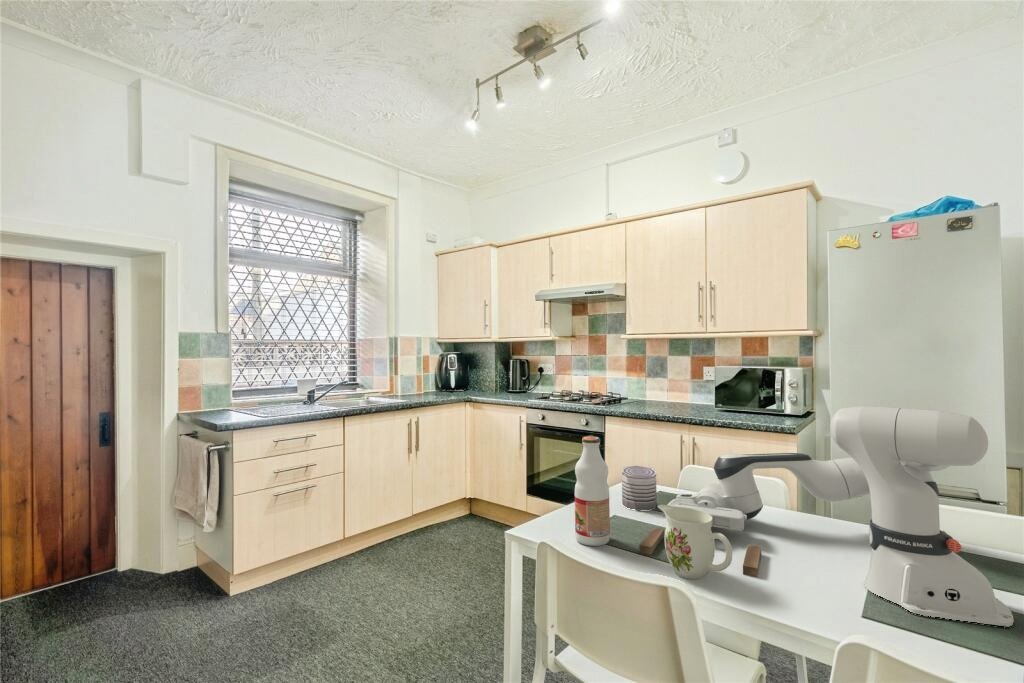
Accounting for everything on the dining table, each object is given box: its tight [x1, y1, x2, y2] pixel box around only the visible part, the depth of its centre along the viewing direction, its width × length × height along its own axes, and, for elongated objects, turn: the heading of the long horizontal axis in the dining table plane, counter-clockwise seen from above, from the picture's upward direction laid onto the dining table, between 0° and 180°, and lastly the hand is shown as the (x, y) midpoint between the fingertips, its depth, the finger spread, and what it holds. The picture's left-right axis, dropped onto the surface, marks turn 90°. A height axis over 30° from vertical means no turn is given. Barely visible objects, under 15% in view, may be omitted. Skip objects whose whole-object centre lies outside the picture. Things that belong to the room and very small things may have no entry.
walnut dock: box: [638, 527, 762, 578], centre depth 121 cm, size 27×14×2 cm, turn 59°
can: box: [620, 465, 658, 510], centre depth 159 cm, size 11×11×12 cm
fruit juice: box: [574, 435, 611, 547], centre depth 130 cm, size 9×9×28 cm
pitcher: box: [657, 504, 733, 580], centre depth 110 cm, size 11×18×14 cm, turn 40°
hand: (700, 524), depth 126 cm, fingers closed
